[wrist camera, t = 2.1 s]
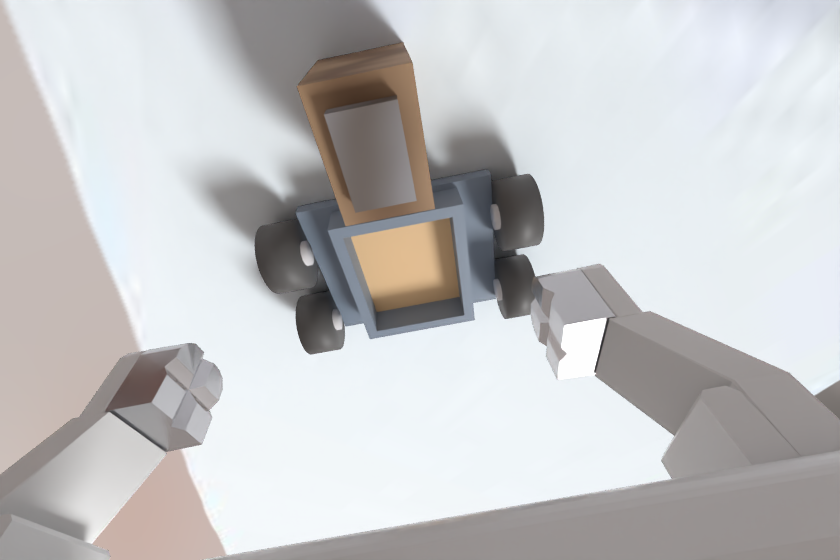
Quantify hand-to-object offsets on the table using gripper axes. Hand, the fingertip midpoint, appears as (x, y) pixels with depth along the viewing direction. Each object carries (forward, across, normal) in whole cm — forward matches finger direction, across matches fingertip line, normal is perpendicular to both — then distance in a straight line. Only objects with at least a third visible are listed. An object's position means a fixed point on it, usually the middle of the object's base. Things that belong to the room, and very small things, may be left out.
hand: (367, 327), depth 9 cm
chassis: (+18, 0, +11) cm, 21 cm away
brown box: (+18, 0, 0) cm, 18 cm away
